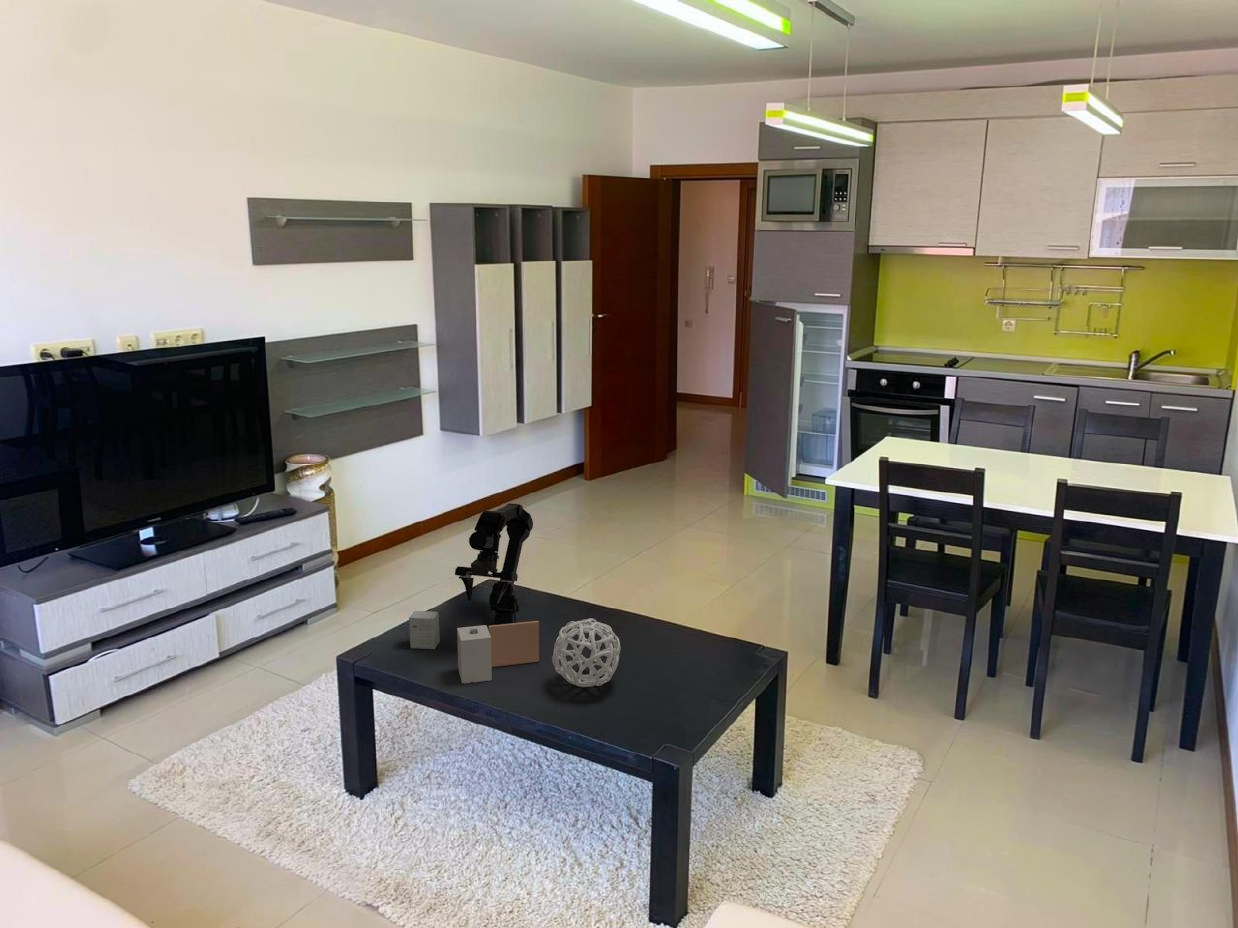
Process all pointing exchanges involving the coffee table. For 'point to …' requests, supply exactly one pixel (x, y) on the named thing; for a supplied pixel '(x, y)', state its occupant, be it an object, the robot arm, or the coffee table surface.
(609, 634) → the decorative ball
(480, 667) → the beige rectangular box
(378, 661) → the coffee table surface
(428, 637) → the small box
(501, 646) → the side door
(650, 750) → the coffee table surface
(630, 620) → the coffee table surface
